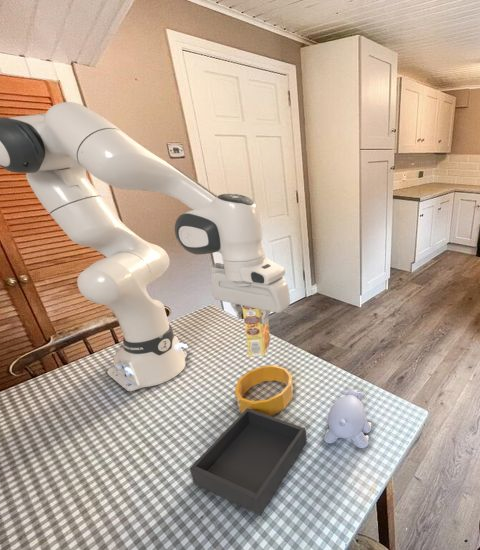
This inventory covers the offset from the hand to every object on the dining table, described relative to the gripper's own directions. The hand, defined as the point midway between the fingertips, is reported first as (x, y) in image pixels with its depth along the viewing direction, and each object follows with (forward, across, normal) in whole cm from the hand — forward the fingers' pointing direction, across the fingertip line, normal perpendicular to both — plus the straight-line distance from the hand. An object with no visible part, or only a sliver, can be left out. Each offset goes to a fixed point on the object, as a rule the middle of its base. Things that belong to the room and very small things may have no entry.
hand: (253, 320), depth 74 cm
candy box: (+10, 0, +1) cm, 10 cm away
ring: (+25, 0, +1) cm, 25 cm away
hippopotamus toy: (+25, +26, 0) cm, 36 cm away
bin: (+25, +9, -16) cm, 31 cm away
